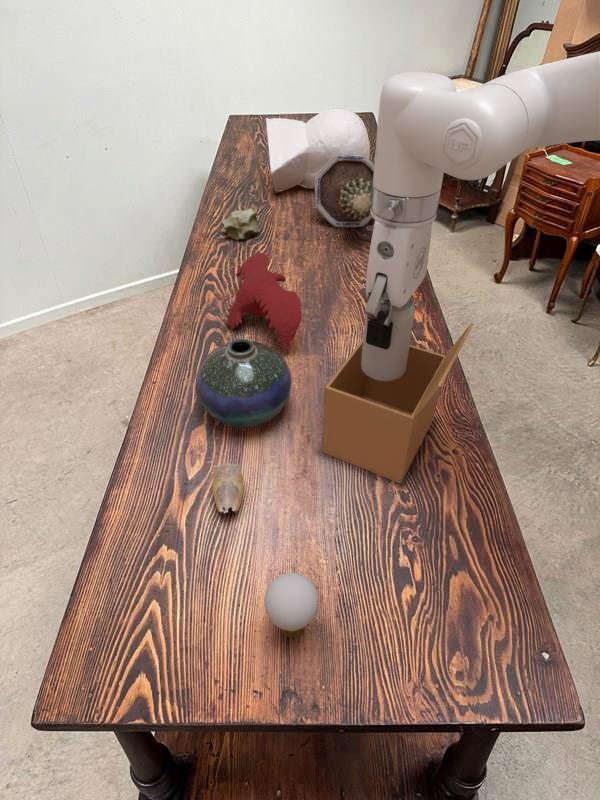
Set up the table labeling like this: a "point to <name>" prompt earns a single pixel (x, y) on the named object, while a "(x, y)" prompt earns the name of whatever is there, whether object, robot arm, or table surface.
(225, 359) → the vase
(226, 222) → the greenish rock
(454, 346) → the flap
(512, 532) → the table surface
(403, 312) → the beverage can
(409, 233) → the robot arm
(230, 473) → the shell
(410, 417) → the carton
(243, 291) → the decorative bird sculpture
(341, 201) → the potted plant
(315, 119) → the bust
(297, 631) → the light bulb
